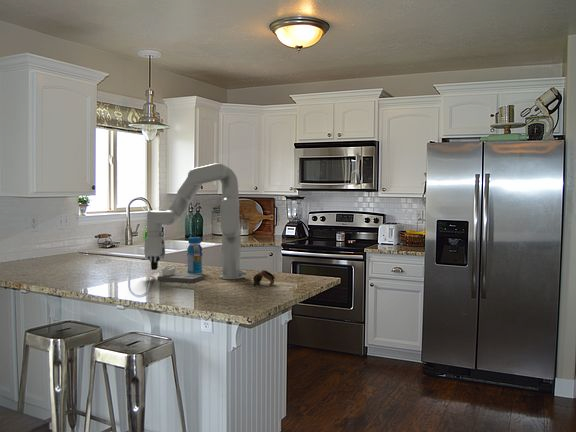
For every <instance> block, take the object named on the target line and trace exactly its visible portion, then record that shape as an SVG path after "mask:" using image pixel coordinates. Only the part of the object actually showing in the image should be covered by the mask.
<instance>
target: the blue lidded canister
mask: <svg viewBox="0 0 576 432" xmlns="http://www.w3.org/2000/svg"><path fill="white" fill-rule="evenodd" d="M187 241H188V244H189V245H188V247H187V249H186V251H187V253H186V257H187V259H186V260H187V273H186V274H195V275H203V256H204V254H203V247H202V245H201V244H202V238H201V236H191V237H188V240H187Z"/></svg>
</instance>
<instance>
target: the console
mask: <svg viewBox="0 0 576 432" xmlns="http://www.w3.org/2000/svg"><path fill="white" fill-rule="evenodd" d="M204 279H205V275H204V274H198V275H195V274H188V273H176V272H175V274H173V275H159V276H157V281H158V282H171V283H172V282H173V283H174V282H176V283H189V284H190V283H191V284H193V283H197V282H199V281H201V280H204Z"/></svg>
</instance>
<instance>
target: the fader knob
mask: <svg viewBox="0 0 576 432" xmlns="http://www.w3.org/2000/svg"><path fill="white" fill-rule="evenodd" d="M161 273H162V275H173V274H175V273H176V267H173V266H169V267H165V268H162V270H161ZM162 275H161V276H162Z"/></svg>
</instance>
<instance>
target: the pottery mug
mask: <svg viewBox="0 0 576 432" xmlns="http://www.w3.org/2000/svg"><path fill="white" fill-rule="evenodd" d="M263 278H264V279H265V280H268V281H270V283H269V286H270V287H273V284H274V283H275V279H276V276H274V275H273V274H272V273H271V272H269V271H267V270H264V269H262V270H261V271H260V272H258V273H257V274H254V276H253V286H260V284H261V281H262V280H263Z"/></svg>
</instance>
